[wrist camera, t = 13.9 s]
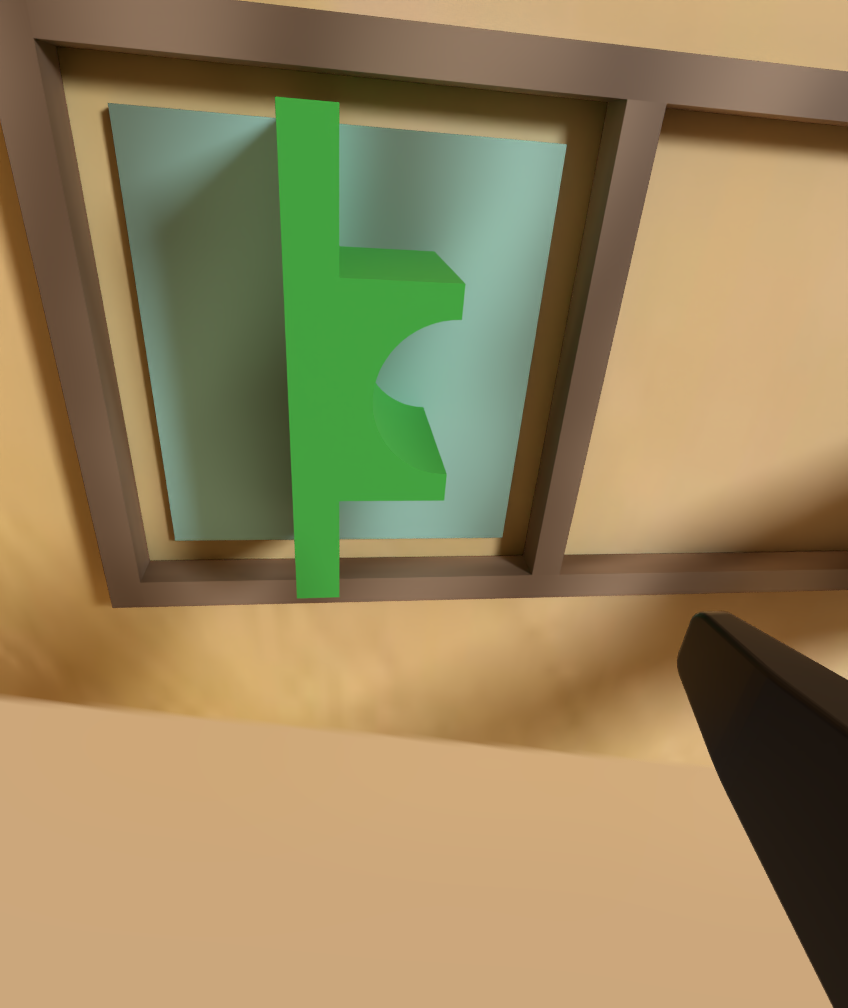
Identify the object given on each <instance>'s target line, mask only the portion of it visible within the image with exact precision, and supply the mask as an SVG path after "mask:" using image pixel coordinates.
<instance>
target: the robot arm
mask: <svg viewBox="0 0 848 1008" xmlns="http://www.w3.org/2000/svg"><path fill="white" fill-rule="evenodd" d="M677 668H678V672H679V676H680V678H681V681H682V684H683V686H684V689H685V691H686V694H687V697H688V699H689V702H690V705H691V707H692V710H693V712H694V715H695V718H696V720H697V723H698V725H699V728H700V731H701V733H702V736H703V739H704V741H705V744H706V746H707V749H708V752H709V754H710V757H711V759H712V762H713V764H714V767H715V769H716V771H717V774H718V776H719V778H720V781H721V783H722V785H723V787H724V789H725V791H726V793H727V795H728V797H729V799H730V801H731V803H732V805H733V807H734V809H735V811H736V813H737V815H738V817H739V820H740V822H741V824H742V825H743V828H744V830H745V831H746V833H747V836H748V837H749V840H750V842H751V843H752V846H753V848H754V850H755V852H756V854H757V856H758V858H759V860H760V861H761V864H762V866H763V867H764V870H765V871H766V874H767V876H768V878H769V880H770V882H771V884H772V885H773V888H774V890H775V892H776V894H777V896H778V898H779V900H780V902H781V904H782V906H783V907H784V910H785V912H786V914H787V916H788V918H789V920H790V922H791V923H792V926H793V928H794V930H795V932H796V934H797V936H798V938H799V940H800V942H801V944H802V946H803V948H804V950H805V952H806V954H807V956H808V958H809V960H810V962H811V964H812V966H813V968H814V970H815V972H816V974H817V976H818V978H819V980H820V982H821V984H822V986H823V988H824V990H825V992H826V994H827V996H828V998H829V1000H830V1002H831V1004H832V1006H833V1008H848V680H847V679H845V678H843V677H842V676H840V675H838V674H836V673H834V672H833V671H831V670H829V669H827V668H826V667H824V666H822V665H820V664H819V663H817V662H815V661H813V660H812V659H810V658H808V657H806V656H805V655H803V654H801V653H799V652H798V651H796V650H794V649H792V648H790V647H789V646H787V645H785V644H783V643H782V642H780V641H778V640H776V639H775V638H773V637H771V636H769V635H768V634H766V633H764V632H762V631H761V630H759V629H757V628H755V627H754V626H752V625H750V624H748V623H746V622H745V621H743V620H741V619H739V618H738V617H736V616H734V615H732V614H730V613H728V612H725V611H708V612H699V613H696V614H695V615H694V616H693V617H692V619H691V621H690V624H689V627H688V629H687V632H686V635H685V637H684V640H683V642H682V645H681V648H680V650H679V653H678V658H677Z"/></svg>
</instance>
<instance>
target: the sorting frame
mask: <svg viewBox="0 0 848 1008" xmlns="http://www.w3.org/2000/svg"><path fill="white" fill-rule="evenodd" d="M56 46H62V47H72V48H81V49H91V50H101V51H111V52H121V53H130V54H140V55H150V56H160V57H170V58H180V59H189V60H199V61H209V62H219V63H229V64H239V65H248V66H258V67H268V68H278V69H288V70H298V71H307V72H317V73H327V74H337V75H347V76H356V77H366V78H376V79H386V80H396V81H406V82H415V83H425V84H435V85H445V86H455V87H465V88H474V89H484V90H494V91H504V92H514V93H524V94H533V95H543V96H553V97H563V98H573V99H583V100H592V101H602V102H608V106H607V111H606V116H605V121H604V127H603V132H602V137H601V143H600V148H599V153H598V159H597V164H596V169H595V175H594V180H593V185H592V191H591V196H590V201H589V207H588V212H587V217H586V223H585V228H584V233H583V239H582V244H581V249H580V255H579V260H578V265H577V271H576V276H575V281H574V287H573V292H572V297H571V303H570V308H569V313H568V319H567V324H566V329H565V335H564V340H563V345H562V351H561V356H560V361H559V367H558V372H557V377H556V382H555V388H554V393H553V398H552V404H551V409H550V414H549V420H548V425H547V430H546V436H545V441H544V446H543V452H542V457H541V462H540V468H539V473H538V478H537V484H536V489H535V494H534V500H533V505H532V510H531V516H530V521H529V526H528V532H527V537H526V542H525V548H524V553H523V556H455V557H383V558H339V597H331V598H297V588H296V565H295V559H240V560H168V561H150V559H149V554H148V548H147V543H146V537H145V532H144V526H143V521H142V515H141V510H140V504H139V499H138V493H137V488H136V482H135V477H134V471H133V466H132V460H131V455H130V449H129V444H128V438H127V433H126V428H125V422H124V417H123V411H122V406H121V400H120V395H119V389H118V384H117V378H116V373H115V367H114V362H113V356H112V351H111V345H110V340H109V334H108V329H107V323H106V318H105V312H104V307H103V301H102V296H101V290H100V285H99V279H98V274H97V269H96V263H95V258H94V252H93V247H92V241H91V236H90V230H89V225H88V219H87V214H86V208H85V203H84V197H83V192H82V186H81V181H80V175H79V170H78V164H77V159H76V153H75V148H74V142H73V137H72V131H71V126H70V120H69V115H68V110H67V104H66V99H65V93H64V88H63V82H62V77H61V71H60V66H59V60H58V55H57V49H56ZM108 107H109V114H110V120H111V127H112V133H113V140H114V146H115V153H116V159H117V166H118V172H119V179H120V185H121V192H122V198H123V205H124V211H125V218H126V224H127V231H128V237H129V244H130V250H131V257H132V263H133V270H134V276H135V283H136V289H137V296H138V302H139V309H140V315H141V322H142V328H143V335H144V341H145V347H146V354H147V360H148V367H149V373H150V380H151V386H152V393H153V399H154V406H155V412H156V419H157V425H158V432H159V438H160V445H161V451H162V458H163V464H164V471H165V477H166V484H167V490H168V497H169V503H170V510H171V516H172V523H173V529H174V536H175V541H186V540H293V539H294V519H293V497H292V474H291V451H290V428H289V405H288V383H287V360H286V337H285V314H284V291H283V268H282V246H281V223H280V200H279V177H278V154H277V131H276V118H269V117H258V116H247V115H236V114H225V113H213V112H202V111H191V110H180V109H169V108H158V107H147V106H136V105H125V104H113V103H108ZM666 108H671V109H681V110H691V111H700V112H710V113H720V114H730V115H740V116H750V117H759V118H769V119H779V120H789V121H799V122H809V123H818V124H828V125H838V126H848V72H847V71H838V70H829V69H821V68H812V67H804V66H795V65H787V64H778V63H770V62H761V61H752V60H744V59H735V58H727V57H718V56H710V55H701V54H692V53H684V52H675V51H667V50H658V49H650V48H641V47H632V46H624V45H615V44H607V43H598V42H590V41H581V40H572V39H564V38H555V37H547V36H538V35H530V34H521V33H512V32H504V31H495V30H487V29H478V28H470V27H461V26H452V25H444V24H435V23H427V22H418V21H410V20H401V19H392V18H384V17H375V16H367V15H358V14H350V13H341V12H333V11H324V10H315V9H307V8H298V7H290V6H281V5H273V4H264V3H255V2H247V1H238V0H0V121H1V125H2V130H3V134H4V138H5V143H6V147H7V151H8V156H9V160H10V164H11V169H12V173H13V177H14V182H15V186H16V190H17V195H18V199H19V204H20V208H21V212H22V217H23V221H24V225H25V230H26V234H27V238H28V243H29V247H30V251H31V256H32V260H33V264H34V269H35V273H36V277H37V282H38V286H39V290H40V295H41V299H42V303H43V308H44V312H45V316H46V321H47V325H48V330H49V334H50V338H51V343H52V347H53V351H54V356H55V360H56V364H57V369H58V373H59V377H60V382H61V386H62V390H63V395H64V399H65V403H66V408H67V412H68V416H69V421H70V425H71V429H72V434H73V438H74V442H75V447H76V451H77V455H78V460H79V464H80V469H81V473H82V477H83V482H84V486H85V490H86V495H87V499H88V503H89V508H90V512H91V516H92V521H93V525H94V529H95V534H96V538H97V542H98V547H99V551H100V555H101V560H102V564H103V568H104V573H105V577H106V581H107V586H108V590H109V595H110V599H111V603H112V608H127V607H168V606H209V605H250V604H291V603H332V602H372V601H413V600H454V599H495V598H536V597H577V596H617V595H658V594H699V593H740V592H781V591H822V590H848V551H815V552H743V553H671V554H599V555H564V552H565V548H566V543H567V539H568V535H569V530H570V526H571V522H572V517H573V513H574V508H575V504H576V500H577V495H578V491H579V486H580V482H581V478H582V473H583V469H584V465H585V460H586V456H587V451H588V447H589V443H590V438H591V434H592V429H593V425H594V421H595V416H596V412H597V408H598V403H599V399H600V394H601V390H602V386H603V381H604V377H605V372H606V368H607V364H608V359H609V355H610V351H611V346H612V342H613V337H614V333H615V329H616V324H617V320H618V315H619V311H620V307H621V302H622V298H623V294H624V289H625V285H626V280H627V276H628V272H629V267H630V263H631V258H632V254H633V250H634V245H635V241H636V237H637V232H638V228H639V223H640V219H641V215H642V210H643V206H644V201H645V197H646V193H647V188H648V184H649V180H650V175H651V171H652V166H653V162H654V158H655V153H656V149H657V144H658V140H659V136H660V131H661V127H662V123H663V118H664V114H665V109H666ZM566 147H567V144H558V143H547V142H536V141H524V140H513V139H502V138H491V137H480V136H469V135H458V134H447V133H436V132H424V131H413V130H402V129H391V128H380V127H369V126H358V125H347V124H339V246H345V247H363V248H381V249H399V250H417V251H435V252H436V253H437V255H438V256H439V257H440V258H441V259H442V260H443V261H444V262H445V263H446V264H447V265H448V266H449V267H450V268H451V269H452V270H453V271H454V272H455V273H456V274H457V275H458V276H459V277H460V279H461V280H462V281H463V282H464V283H465V284H466V285H465V295H464V305H463V315H462V320H450V321H443V322H439V323H435V324H432V325H429V326H426V327H424V328H422V329H420V330H418V331H416V332H414V333H413V334H411V335H410V336H408V337H407V338H406V339H404V340H403V341H402V342H401V343H400V344H399V345H398V346H397V347H396V348H395V349H394V350H393V351H392V352H391V353H390V355H389V356H388V357H387V359H386V360H385V362H384V364H383V365H382V367H381V369H380V371H379V374H378V377H377V379H376V384H377V385H378V386H379V387H380V389H381V390H382V391H384V392H385V393H386V394H387V395H388V396H390V397H391V398H393V399H395V400H397V401H399V402H401V403H403V404H407V405H410V406H416V407H423V408H424V411H425V414H426V416H427V419H428V422H429V425H430V428H431V431H432V433H433V436H434V439H435V442H436V445H437V448H438V451H439V453H440V456H441V459H442V462H443V465H444V468H445V470H446V473H447V478H446V488H445V498H444V501H339V539H400V538H502V536H503V530H504V524H505V518H506V512H507V506H508V500H509V494H510V488H511V482H512V475H513V469H514V463H515V457H516V451H517V445H518V439H519V433H520V427H521V421H522V415H523V408H524V402H525V396H526V390H527V384H528V378H529V372H530V366H531V360H532V354H533V348H534V342H535V335H536V329H537V323H538V317H539V311H540V305H541V299H542V293H543V287H544V281H545V275H546V269H547V262H548V256H549V250H550V244H551V238H552V232H553V226H554V220H555V214H556V208H557V202H558V196H559V189H560V183H561V177H562V171H563V165H564V159H565V153H566Z"/></svg>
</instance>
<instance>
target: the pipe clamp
mask: <svg viewBox="0 0 848 1008" xmlns="http://www.w3.org/2000/svg"><path fill="white" fill-rule="evenodd" d="M275 109H276V131H277V154H278V177H279V200H280V223H281V246H282V268H283V291H284V314H285V337H286V360H287V383H288V405H289V428H290V451H291V474H292V497H293V519H294V542H295V565H296V588H297V598H331V597H339V501H444V498H445V488H446V478H447V473H446V470H445V468H444V465H443V462H442V459H441V456H440V453H439V451H438V448H437V445H436V442H435V439H434V436H433V433H432V431H431V428H430V425H429V422H428V419H427V416H426V414H425V411H424V408H423V407H416V406H410V405H407V404H403V403H401V402H399V401H397V400H395V399H393V398H391V397H390V396H388V395H387V394H386V393H385V392H384V391H382V390H381V389H380V387H379V386H378V385H377V384H376V379H377V377H378V374H379V371H380V369H381V367H382V365H383V364H384V362H385V360H386V359H387V357H388V356H389V355H390V353H391V352H392V351H393V350H394V349H395V348H396V347H397V346H398V345H399V344H400V343H401V342H402V341H403V340H404V339H406V338H407V337H408V336H410V335H411V334H413V333H414V332H416V331H418V330H420V329H422V328H424V327H426V326H429V325H432V324H435V323H439V322H443V321H450V320H462V315H463V305H464V295H465V285H466V284H465V283H464V282H463V281H462V280H461V279H460V277H459V276H458V275H457V274H456V273H455V272H454V271H453V270H452V269H451V268H450V267H449V266H448V265H447V264H446V263H445V262H444V261H443V260H442V259H441V258H440V257H439V256H438V255H437V253H436V252H435V251H417V250H399V249H381V248H363V247H345V246H339V102H330V101H319V100H308V99H297V98H285V97H275Z"/></svg>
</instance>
